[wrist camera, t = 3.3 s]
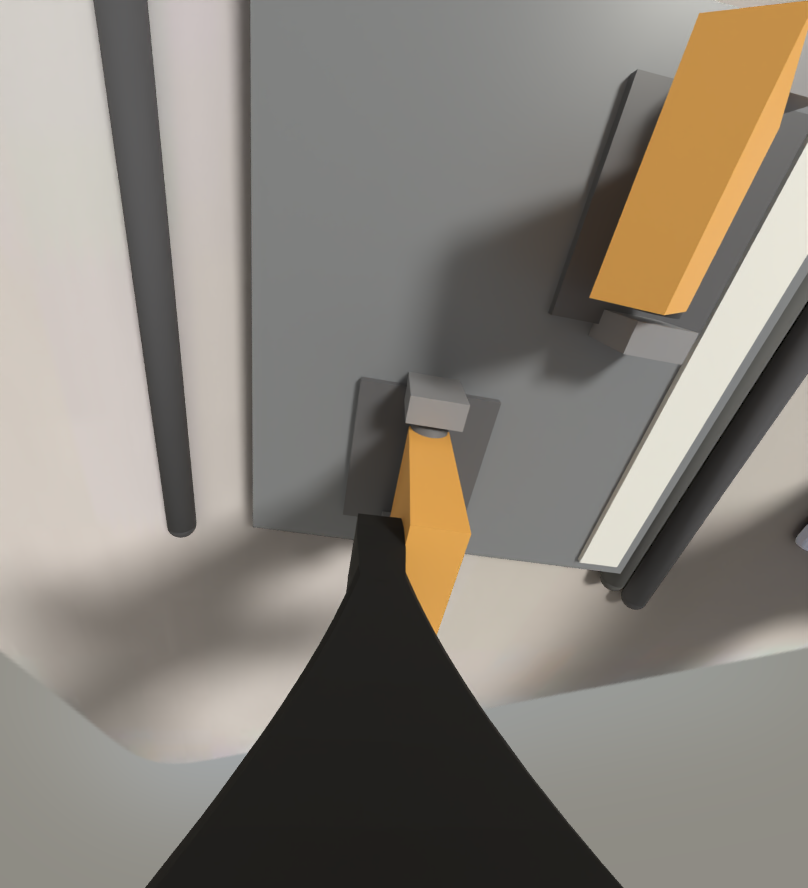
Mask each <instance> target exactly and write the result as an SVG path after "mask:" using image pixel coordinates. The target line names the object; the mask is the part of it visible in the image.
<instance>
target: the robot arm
mask: <svg viewBox="0 0 808 888" xmlns="http://www.w3.org/2000/svg"><path fill="white" fill-rule="evenodd" d="M796 544H797V545H798V546H799V547H801V548H802V549H803V550H806V551H808V524H807V525H806V526H805V528H804V529H803V530H802V531H801V532H800V533H799V534H798V536H797V537H796ZM145 888H623V887H622V886H621V884H620V883H619V882H618V881H617V880H616V879H615V878H614V876H613V875H612V874H611V873H610V872H609V871H608V869H607V868H606V867H605V866H604V865H603V864H602V863H601V861H600V860H599V859H598V858H597V857H596V855H595V854H594V853H593V852H592V851H591V849H590V848H589V847H588V846H587V845H586V843H585V842H584V841H583V840H582V839H581V837H580V836H579V835H578V834H577V833H576V832H575V830H574V829H573V828H572V827H571V825H570V824H569V823H568V822H567V821H566V819H565V818H564V817H563V816H562V814H561V813H560V812H559V811H558V809H557V808H556V807H555V806H554V804H553V803H552V802H551V800H550V799H549V798H548V797H547V795H546V794H545V793H544V792H543V790H542V789H541V788H540V787H539V785H538V784H537V783H536V782H535V780H534V779H533V778H532V776H531V775H530V774H529V773H528V771H527V770H526V768H525V767H524V766H523V764H522V763H521V762H520V760H519V759H518V758H517V756H516V755H515V753H514V752H513V751H512V749H511V748H510V747H509V745H508V744H507V742H506V741H505V740H504V738H503V737H502V736H501V734H500V733H499V732H498V730H497V729H496V727H495V726H494V725H493V723H492V722H491V721H490V719H489V718H488V716H487V715H486V714H485V712H484V711H483V709H482V708H481V706H480V705H479V703H478V702H477V700H476V699H475V697H474V696H473V694H472V693H471V691H470V690H469V688H468V687H467V685H466V684H465V682H464V680H463V679H462V677H461V676H460V674H459V672H458V671H457V669H456V668H455V666H454V664H453V663H452V661H451V659H450V658H449V656H448V654H447V653H446V651H445V649H444V647H443V646H442V644H441V642H440V640H439V639H438V637H437V635H436V633H435V631H434V630H433V628H432V626H431V624H430V622H429V620H428V618H427V616H426V614H425V612H424V611H423V608H422V606H421V604H420V602H419V600H418V598H417V596H416V594H415V592H414V590H413V587H412V585H411V583H410V581H409V579H408V576H407V574H406V546H405V534H404V527H403V523H402V518H396V517H387V516H378V515H369V514H360V513H358V517H357V524H356V530H355V536H354V543H353V549H352V555H351V562H350V568H349V574H348V582H347V591H346V595H345V597H344V599H343V601H342V603H341V605H340V607H339V609H338V611H337V613H336V615H335V617H334V619H333V621H332V622H331V624H330V626H329V628H328V630H327V632H326V633H325V635H324V637H323V639H322V640H321V642H320V644H319V646H318V647H317V649H316V651H315V652H314V654H313V656H312V657H311V659H310V661H309V663H308V664H307V666H306V667H305V669H304V671H303V672H302V674H301V675H300V677H299V679H298V680H297V682H296V683H295V685H294V686H293V688H292V689H291V691H290V693H289V694H288V696H287V697H286V699H285V700H284V702H283V703H282V705H281V706H280V708H279V709H278V711H277V712H276V714H275V715H274V717H273V718H272V720H271V721H270V723H269V724H268V726H267V727H266V729H265V730H264V731H263V733H262V734H261V736H260V737H259V738H258V740H257V741H256V743H255V744H254V745H253V747H252V748H251V749H250V751H249V752H248V754H247V755H246V756H245V758H244V759H243V761H242V762H241V763H240V765H239V766H238V767H237V769H236V770H235V772H234V773H233V774H232V776H231V777H230V779H229V780H228V781H227V783H226V784H225V785H224V787H223V788H222V790H221V791H220V792H219V794H218V795H217V796H216V798H215V799H214V800H213V802H212V803H211V804H210V806H209V807H208V808H207V810H206V811H205V812H204V814H203V815H202V816H201V818H200V819H199V820H198V822H197V823H196V824H195V825H194V827H193V828H192V829H191V830H190V832H189V833H188V834H187V836H186V837H185V838H184V839H183V841H182V842H181V843H180V844H179V846H178V847H177V848H176V849H175V851H174V852H173V853H172V854H171V856H170V857H169V858H168V860H167V861H166V862H165V863H164V865H163V866H162V867H161V868H160V870H159V871H158V872H157V873H156V875H155V876H154V877H153V879H152V880H151V881H150V882H149V884H148V885H147V886H146V887H145Z"/></svg>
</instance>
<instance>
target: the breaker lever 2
mask: <svg viewBox="0 0 808 888" xmlns="http://www.w3.org/2000/svg"><path fill="white" fill-rule="evenodd" d="M807 31H808V1H801V2H792V3H783V4H775V5H766V6H757V7H748V8H739V9H730V10H722V11H713V12H704V13H699V15H698V18H697V20H696V23H695V25H694V28H693V31H692V33H691V36H690V38H689V41H688V43H687V46H686V49H685V51H684V54H683V56H682V59H681V62H680V64H679V67H678V69H677V72H676V75H675V77H674V80H673V82H672V85H671V87H670V90H669V93H668V95H667V98H666V100H665V103H664V106H663V108H662V111H661V113H660V116H659V118H658V121H657V124H656V126H655V129H654V131H653V134H652V137H651V139H650V142H649V144H648V147H647V150H646V152H645V155H644V157H643V160H642V162H641V165H640V168H639V170H638V173H637V175H636V178H635V181H634V183H633V186H632V188H631V191H630V193H629V196H628V199H627V201H626V204H625V206H624V209H623V212H622V214H621V217H620V219H619V222H618V225H617V227H616V230H615V232H614V235H613V237H612V240H611V243H610V245H609V248H608V250H607V253H606V256H605V258H604V261H603V263H602V266H601V268H600V271H599V274H598V276H597V279H596V281H595V284H594V287H593V289H592V292H591V294H590V297H589V298H593V299H597V300H601V301H605V302H610V303H614V304H618V305H622V306H627V307H631V308H633V309H635V310H638V311H642V312H646V313H650V314H654V315H658V316H663V317H668V318H673V319H680V318H681V316H682V314H683V312H686V311H687V309H688V307H689V305H690V303H691V301H692V299H693V297H694V295H695V293H696V291H697V289H698V287H699V285H700V283H701V281H702V279H703V277H704V275H705V274H706V272H707V270H708V268H709V266H710V264H711V262H712V260H713V258H714V256H715V254H716V252H717V250H718V248H719V246H720V244H721V242H722V240H723V238H724V236H725V234H726V232H727V230H728V228H729V226H730V224H731V222H732V220H733V218H734V216H735V214H736V212H737V210H738V208H739V207H740V205H741V203H742V201H743V199H744V197H745V195H746V193H747V191H748V189H749V187H750V185H751V183H752V181H753V179H754V177H755V175H756V173H757V171H758V169H759V167H760V165H761V163H762V161H763V159H764V157H765V155H766V153H767V151H768V149H769V147H770V145H771V143H772V141H773V139H774V138H775V136H776V134H777V132H778V130H779V128H780V124H781V121H782V117H783V114H784V110H785V107H786V103H787V100H788V97H789V93H790V90H791V86H792V83H793V79H794V76H795V72H796V69H797V65H798V62H799V58H800V55H801V52H802V48H803V45H804V41H805V38H806V34H807Z"/></svg>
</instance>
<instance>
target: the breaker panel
mask: <svg viewBox="0 0 808 888" xmlns="http://www.w3.org/2000/svg"><path fill="white" fill-rule="evenodd" d="M730 9H739V7H735V6H732V5H729V4H725V3H722V2H718V1H715V0H250V52H251V248H252V443H253V527H258V528H265V529H273V530H281V531H289V532H297V533H305V534H313V535H320V536H328V537H336V538H344V539H352V540H354V536H355V530H356V524H357V517H358V513H360V514H369V515H378V516H387V517H390V515H391V510H392V505H393V501H394V496H395V491H396V486H397V481H398V477H399V472H400V467H401V462H402V458H403V453H404V448H405V443H406V438H407V434H408V429H409V426H411V424H415V425H421V426H428V427H434V428H440V429H447V430H448V432H449V434H450V439H451V443H452V448H453V452H454V457H455V461H456V466H457V471H458V475H459V480H460V484H461V489H462V493H463V498H464V503H465V507H466V512H467V516H468V521H469V525H470V530H471V537H470V539H469V542H468V545H467V548H466V551H465V554H470V555H477V556H485V557H493V558H501V559H509V560H517V561H525V562H532V563H540V564H548V565H556V566H564V567H572V568H579V569H587V570H595V571H603V572H611V573H619V574H621V572H622V570H623V569H624V567H625V566H626V564H627V562H628V561H629V559H630V558H631V556H632V554H633V553H634V551H635V549H636V548H637V546H638V545H639V543H640V541H641V540H642V538H643V537H644V535H645V533H646V532H647V530H648V529H649V527H650V525H651V524H652V522H653V521H654V519H655V517H656V516H657V514H658V513H659V511H660V509H661V508H662V506H663V504H664V503H665V501H666V500H667V498H668V496H669V495H670V493H671V492H672V490H673V488H674V487H675V485H676V484H677V482H678V480H679V479H680V477H681V476H682V474H683V472H684V471H685V469H686V468H687V466H688V464H689V463H690V461H691V459H692V458H693V456H694V455H695V453H696V451H697V450H698V448H699V447H700V445H701V443H702V442H703V440H704V439H705V437H706V435H707V434H708V432H709V431H710V429H711V427H712V426H713V424H714V423H715V421H716V419H717V418H718V416H719V414H720V413H721V411H722V410H723V408H724V406H725V405H726V403H727V402H728V400H729V398H730V397H731V395H732V394H733V392H734V390H735V389H736V387H737V386H738V384H739V382H740V381H741V379H742V378H743V376H744V374H745V373H746V371H747V369H748V368H749V366H750V365H751V363H752V361H753V360H754V358H755V357H756V355H757V353H758V352H759V350H760V349H761V347H762V345H763V344H764V342H765V341H766V339H767V337H768V336H769V334H770V333H771V331H772V329H773V328H774V326H775V324H776V323H777V321H778V320H779V318H780V316H781V315H782V313H783V312H784V310H785V308H786V307H787V305H788V304H789V302H790V300H791V299H792V297H793V296H794V294H795V292H796V291H797V289H798V288H799V286H800V284H801V283H802V281H803V279H804V278H805V276H806V275H807V273H808V31H807V34H806V38H805V41H804V45H803V48H802V52H801V55H800V58H799V62H798V65H797V69H796V72H795V76H794V79H793V83H792V86H791V90H790V93H789V97H788V100H787V103H786V107H785V110H784V114H783V117H782V121H781V124H780V128H779V130H778V132H777V134H776V136H775V138H774V139H773V141H772V143H771V145H770V147H769V149H768V151H767V153H766V155H765V157H764V159H763V161H762V163H761V165H760V167H759V169H758V171H757V173H756V175H755V177H754V179H753V181H752V183H751V185H750V187H749V189H748V191H747V193H746V195H745V197H744V199H743V201H742V203H741V205H740V207H739V208H738V210H737V212H736V214H735V216H734V218H733V220H732V222H731V224H730V226H729V228H728V230H727V232H726V234H725V236H724V238H723V240H722V242H721V244H720V246H719V248H718V250H717V252H716V254H715V256H714V258H713V260H712V262H711V264H710V266H709V268H708V270H707V272H706V274H705V275H704V277H703V279H702V281H701V283H700V285H699V287H698V289H697V291H696V293H695V295H694V297H693V299H692V301H691V303H690V305H689V307H688V309H687V311H686V312H683V314H682V316H681V318H680V319H673V318H668V317H663V316H658V315H654V314H650V313H646V312H642V311H638V310H635V309H633V308H631V307H627V306H622V305H618V304H614V303H610V302H605V301H601V300H597V299H593V298H589V297H590V294H591V292H592V289H593V287H594V284H595V281H596V279H597V276H598V274H599V271H600V268H601V266H602V263H603V261H604V258H605V256H606V253H607V250H608V248H609V245H610V243H611V240H612V237H613V235H614V232H615V230H616V227H617V225H618V222H619V219H620V217H621V214H622V212H623V209H624V206H625V204H626V201H627V199H628V196H629V193H630V191H631V188H632V186H633V183H634V181H635V178H636V175H637V173H638V170H639V168H640V165H641V162H642V160H643V157H644V155H645V152H646V150H647V147H648V144H649V142H650V139H651V137H652V134H653V131H654V129H655V126H656V124H657V121H658V118H659V116H660V113H661V111H662V108H663V106H664V103H665V100H666V98H667V95H668V93H669V90H670V87H671V85H672V82H673V80H674V77H675V75H676V72H677V69H678V67H679V64H680V62H681V59H682V56H683V54H684V51H685V49H686V46H687V43H688V41H689V38H690V36H691V33H692V31H693V28H694V25H695V23H696V20H697V18H698V15H699V13H704V12H713V11H722V10H730Z"/></svg>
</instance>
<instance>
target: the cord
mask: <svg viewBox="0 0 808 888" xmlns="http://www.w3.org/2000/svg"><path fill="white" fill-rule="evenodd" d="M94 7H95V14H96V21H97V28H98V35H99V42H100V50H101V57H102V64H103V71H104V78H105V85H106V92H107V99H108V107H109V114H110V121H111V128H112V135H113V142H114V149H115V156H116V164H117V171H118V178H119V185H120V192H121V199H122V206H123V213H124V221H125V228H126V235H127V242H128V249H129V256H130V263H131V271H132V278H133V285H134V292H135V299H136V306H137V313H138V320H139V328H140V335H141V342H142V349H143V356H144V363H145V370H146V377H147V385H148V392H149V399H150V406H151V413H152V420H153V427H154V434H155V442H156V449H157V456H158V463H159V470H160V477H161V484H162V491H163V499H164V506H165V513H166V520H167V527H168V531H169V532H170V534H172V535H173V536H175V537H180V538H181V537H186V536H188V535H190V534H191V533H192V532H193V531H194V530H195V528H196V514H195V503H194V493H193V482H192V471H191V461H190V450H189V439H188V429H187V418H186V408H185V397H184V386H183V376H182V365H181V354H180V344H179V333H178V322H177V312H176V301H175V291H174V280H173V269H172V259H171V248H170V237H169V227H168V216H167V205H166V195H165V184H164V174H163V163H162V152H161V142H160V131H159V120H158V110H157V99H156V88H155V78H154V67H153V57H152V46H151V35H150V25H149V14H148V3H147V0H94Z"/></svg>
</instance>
